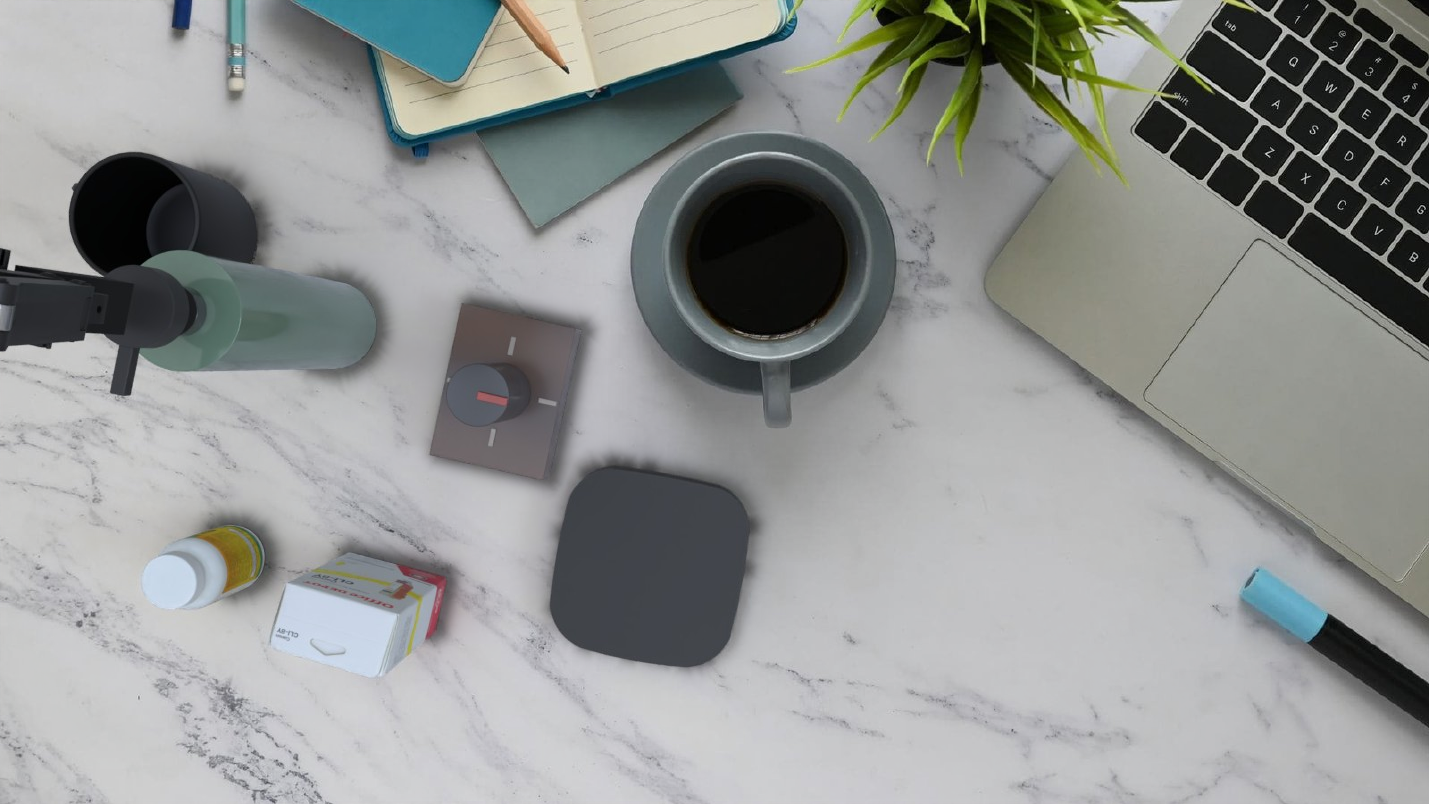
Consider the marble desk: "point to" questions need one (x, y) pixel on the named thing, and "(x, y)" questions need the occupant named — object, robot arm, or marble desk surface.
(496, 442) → the dial panel
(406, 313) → the marble desk surface
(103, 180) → the mug
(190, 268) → the lotion bottle
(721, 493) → the media streaming box
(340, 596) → the ink box
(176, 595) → the supplement bottle
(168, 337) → the pump head
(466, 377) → the dial
